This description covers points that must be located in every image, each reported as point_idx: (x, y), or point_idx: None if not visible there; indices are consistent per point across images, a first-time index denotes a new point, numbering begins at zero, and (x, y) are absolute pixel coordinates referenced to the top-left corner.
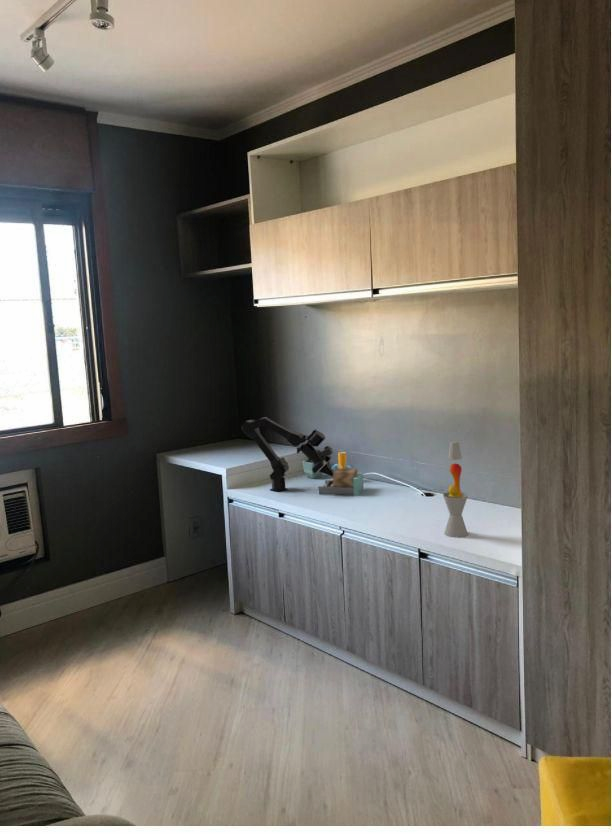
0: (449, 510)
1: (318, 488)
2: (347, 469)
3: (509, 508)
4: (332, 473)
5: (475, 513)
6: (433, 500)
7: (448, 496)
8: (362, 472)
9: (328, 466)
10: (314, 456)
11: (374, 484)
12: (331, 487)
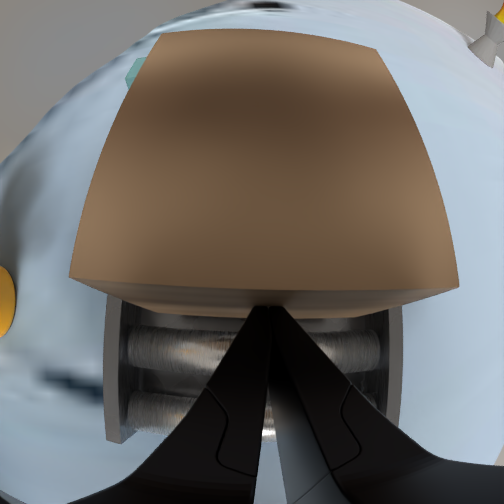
0: (501, 42)
1: None
2: (214, 83)
3: None
4: (306, 345)
5: (387, 5)
6: (328, 8)
7: (498, 25)
8: (139, 60)
9: (355, 479)
10: None
11: (87, 121)
12: (401, 320)
